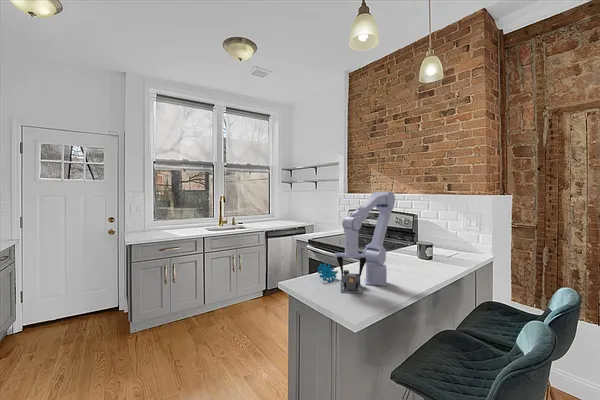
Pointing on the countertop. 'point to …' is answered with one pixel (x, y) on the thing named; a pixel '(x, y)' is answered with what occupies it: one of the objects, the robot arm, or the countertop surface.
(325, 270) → the gear
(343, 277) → the motor mount
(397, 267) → the countertop surface
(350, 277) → the grey knobbed block
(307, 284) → the countertop surface
